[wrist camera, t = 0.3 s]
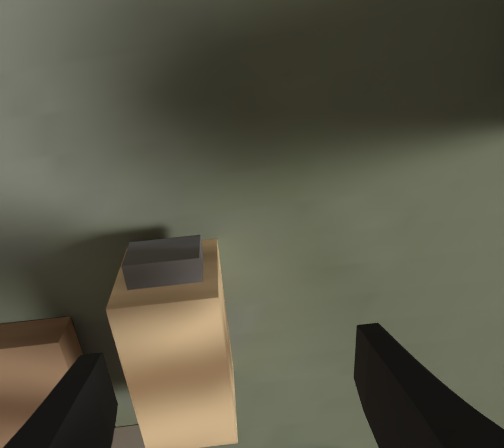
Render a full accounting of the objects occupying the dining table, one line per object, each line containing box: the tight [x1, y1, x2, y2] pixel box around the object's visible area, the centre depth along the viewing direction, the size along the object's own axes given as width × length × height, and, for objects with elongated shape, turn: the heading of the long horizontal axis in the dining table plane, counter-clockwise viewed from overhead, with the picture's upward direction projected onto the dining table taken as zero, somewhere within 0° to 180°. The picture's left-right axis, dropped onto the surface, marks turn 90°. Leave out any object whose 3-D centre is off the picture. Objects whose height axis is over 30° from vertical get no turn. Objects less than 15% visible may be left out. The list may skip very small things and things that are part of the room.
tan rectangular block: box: [106, 235, 238, 448], centre depth 21 cm, size 10×4×5 cm, turn 4°
